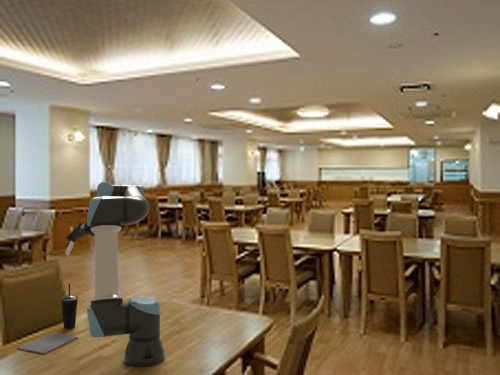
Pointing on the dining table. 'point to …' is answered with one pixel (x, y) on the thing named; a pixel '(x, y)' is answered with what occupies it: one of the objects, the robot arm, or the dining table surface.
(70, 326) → the drinking cup
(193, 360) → the dining table surface
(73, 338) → the placemat
